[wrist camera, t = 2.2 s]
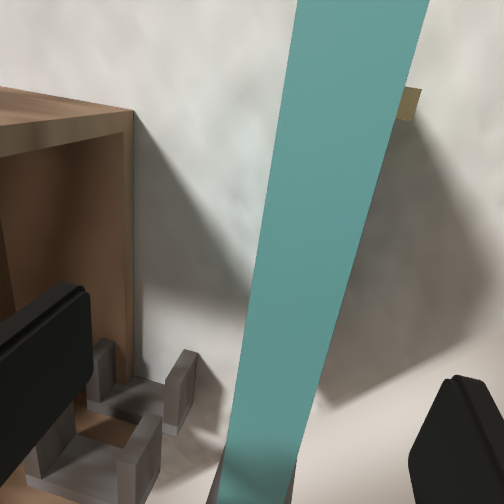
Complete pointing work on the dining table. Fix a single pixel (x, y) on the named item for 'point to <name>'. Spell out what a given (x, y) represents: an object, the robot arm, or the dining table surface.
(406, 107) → the door
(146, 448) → the cabinet
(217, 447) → the dining table surface
